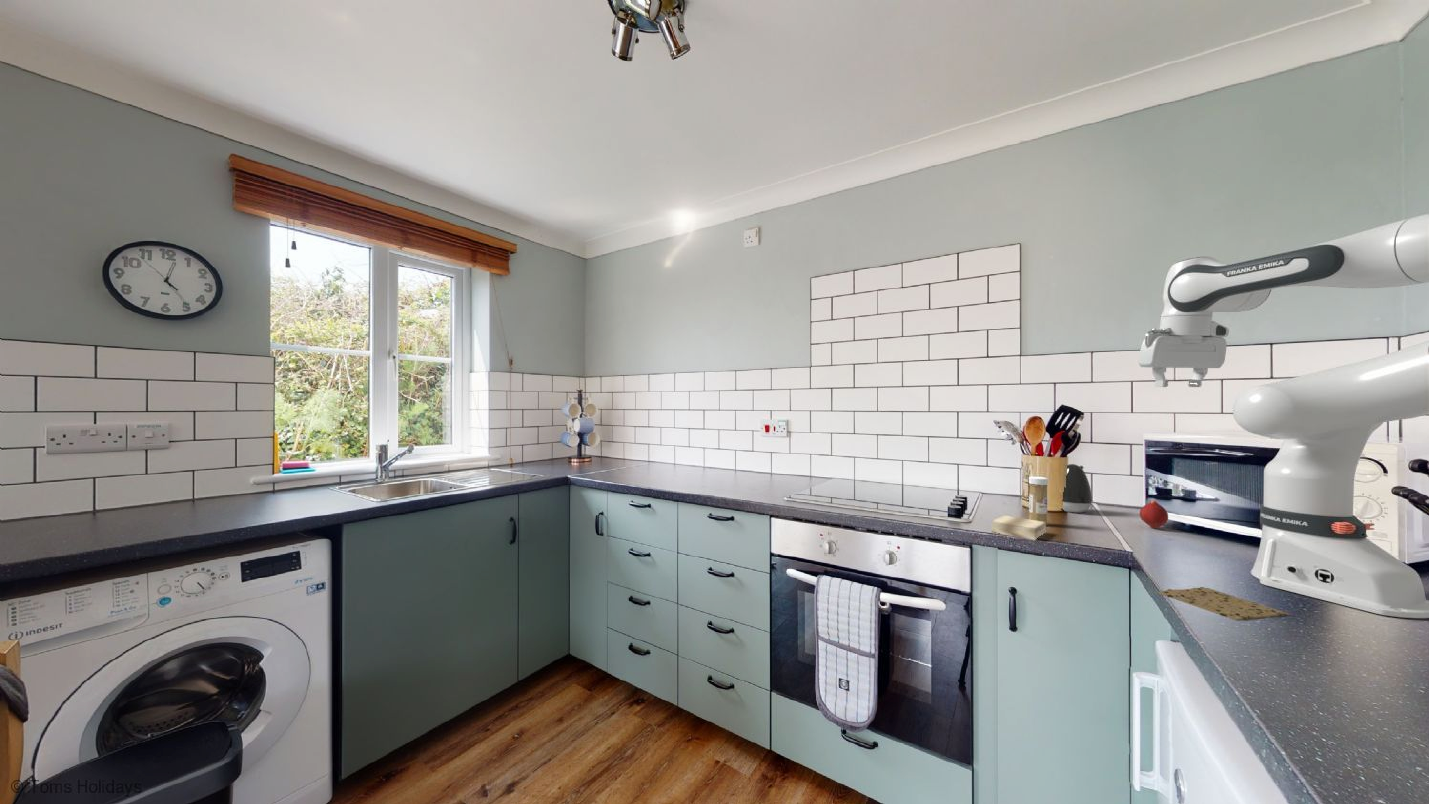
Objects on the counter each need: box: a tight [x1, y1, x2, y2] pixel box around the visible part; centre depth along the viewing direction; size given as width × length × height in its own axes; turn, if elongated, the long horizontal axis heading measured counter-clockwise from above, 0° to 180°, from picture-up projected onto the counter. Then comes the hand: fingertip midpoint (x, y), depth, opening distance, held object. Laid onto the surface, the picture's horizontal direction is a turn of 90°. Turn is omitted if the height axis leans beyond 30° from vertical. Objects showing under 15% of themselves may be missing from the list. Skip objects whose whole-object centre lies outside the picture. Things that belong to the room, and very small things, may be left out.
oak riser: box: [991, 514, 1047, 541], centre depth 130 cm, size 10×10×3 cm
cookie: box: [1157, 586, 1291, 622], centre depth 85 cm, size 12×12×1 cm
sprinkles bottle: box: [1028, 476, 1049, 526], centre depth 140 cm, size 5×5×14 cm
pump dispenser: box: [1062, 463, 1093, 514], centre depth 157 cm, size 10×10×15 cm
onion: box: [1139, 499, 1169, 530], centre depth 136 cm, size 6×6×8 cm
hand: (1178, 387), depth 117 cm, fingers open, 8 cm apart
